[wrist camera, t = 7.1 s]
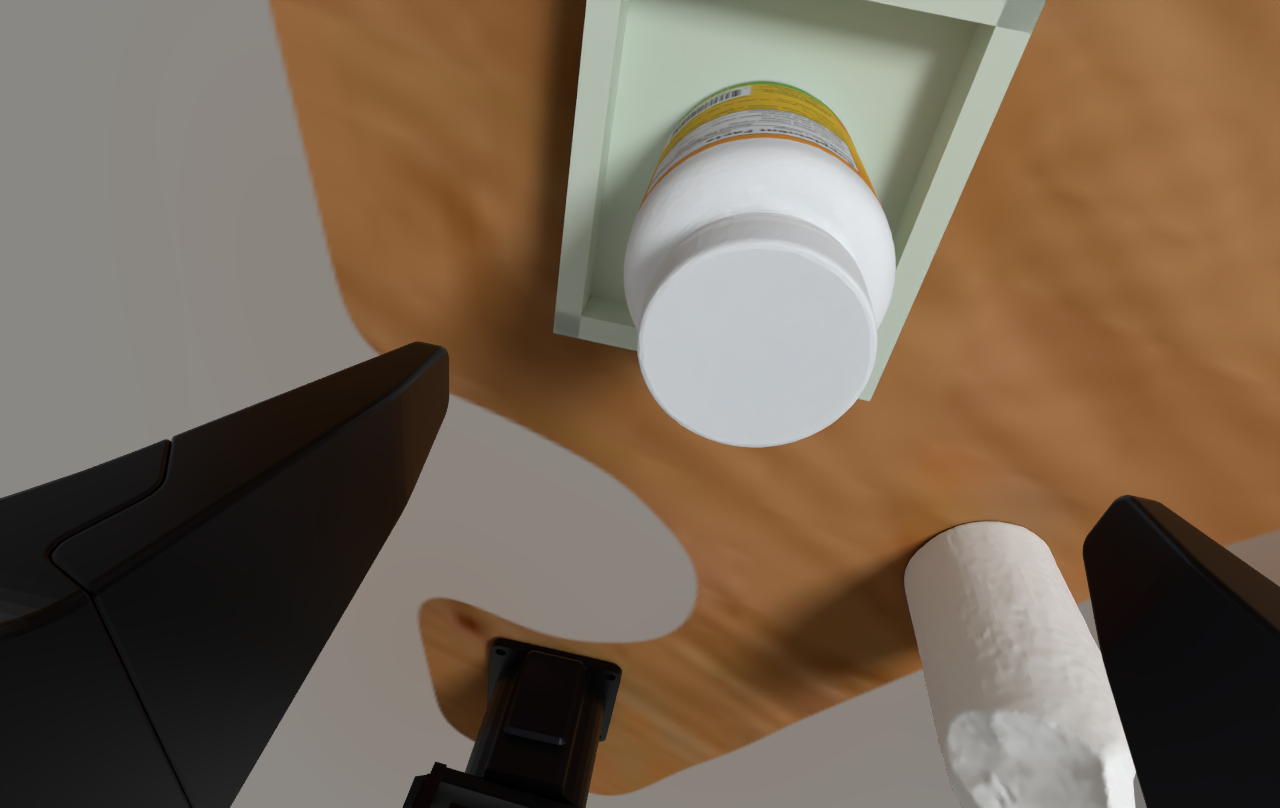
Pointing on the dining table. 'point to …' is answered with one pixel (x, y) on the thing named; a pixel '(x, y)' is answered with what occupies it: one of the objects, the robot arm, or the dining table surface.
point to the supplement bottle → (758, 268)
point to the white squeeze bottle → (1014, 675)
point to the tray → (803, 56)
